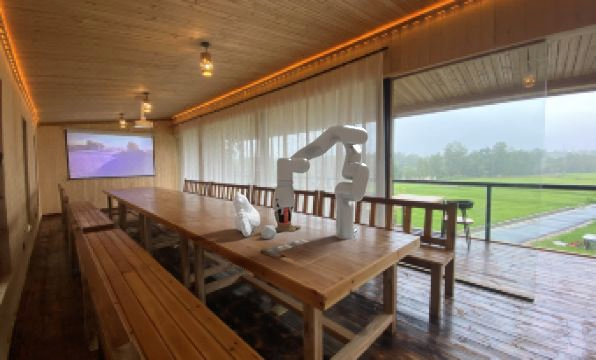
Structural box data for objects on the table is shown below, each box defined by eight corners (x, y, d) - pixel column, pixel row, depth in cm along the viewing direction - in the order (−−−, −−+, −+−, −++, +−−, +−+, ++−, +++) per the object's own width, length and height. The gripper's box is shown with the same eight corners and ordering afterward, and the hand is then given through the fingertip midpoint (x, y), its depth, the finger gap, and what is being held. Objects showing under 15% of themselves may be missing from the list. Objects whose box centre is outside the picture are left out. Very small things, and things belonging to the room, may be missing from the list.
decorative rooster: (241, 215, 174) (225, 189, 158) (264, 212, 172) (250, 184, 156) (234, 248, 156) (215, 222, 140) (259, 245, 153) (243, 217, 137)
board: (298, 239, 145) (298, 237, 145) (315, 244, 137) (315, 242, 137) (261, 252, 127) (261, 249, 127) (278, 258, 118) (278, 255, 118)
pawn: (284, 222, 132) (284, 203, 131) (291, 224, 129) (291, 204, 128) (277, 224, 129) (277, 204, 128) (284, 225, 125) (284, 205, 124)
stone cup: (270, 233, 157) (270, 208, 156) (278, 228, 169) (278, 205, 167) (294, 236, 153) (295, 210, 152) (301, 230, 164) (301, 206, 163)
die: (270, 244, 140) (279, 228, 142) (256, 235, 141) (266, 220, 143) (271, 245, 148) (280, 230, 150) (258, 236, 149) (267, 222, 151)
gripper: (291, 182, 136) (291, 217, 137) (266, 184, 124) (266, 223, 125) (302, 183, 130) (301, 220, 132) (277, 185, 118) (276, 226, 120)
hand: (284, 221), depth 128 cm, fingers closed on pawn, 3 cm apart
